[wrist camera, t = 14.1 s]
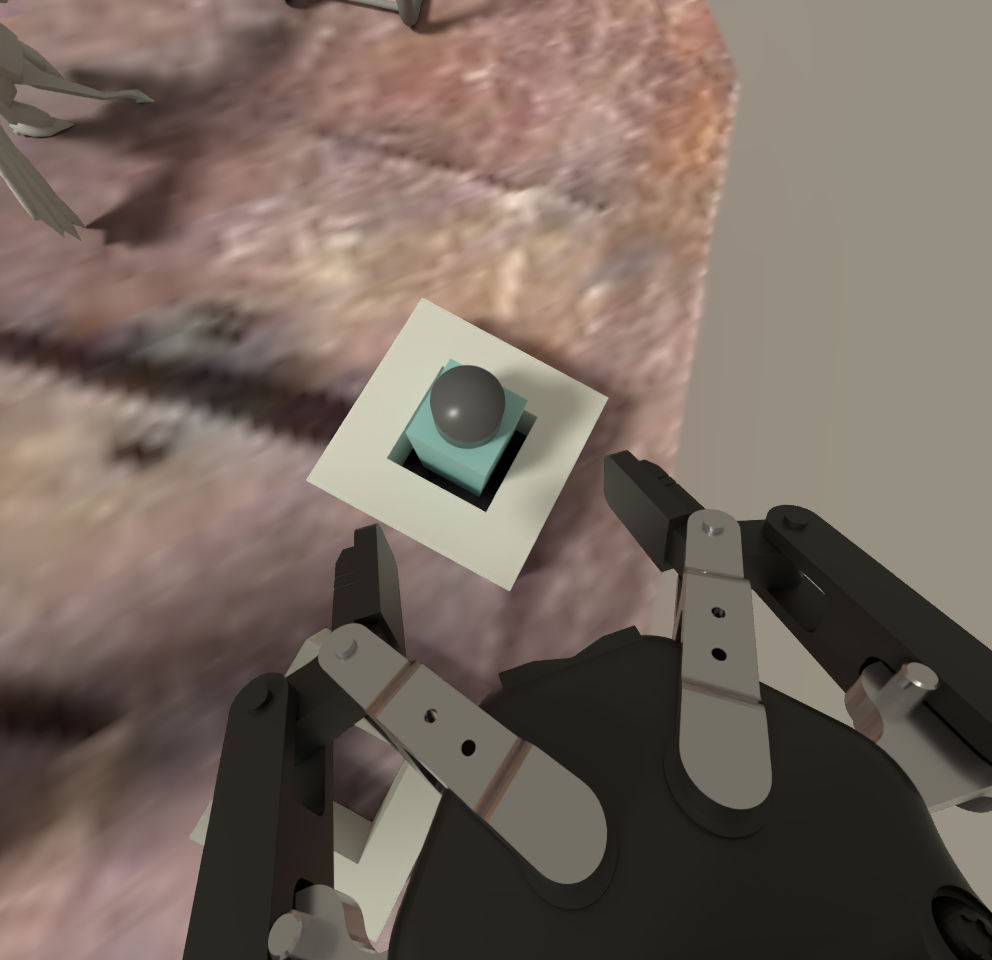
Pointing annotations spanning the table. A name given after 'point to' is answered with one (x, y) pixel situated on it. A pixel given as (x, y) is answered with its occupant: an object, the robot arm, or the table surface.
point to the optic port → (423, 505)
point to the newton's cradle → (398, 8)
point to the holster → (371, 831)
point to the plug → (465, 425)
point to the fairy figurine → (37, 127)
